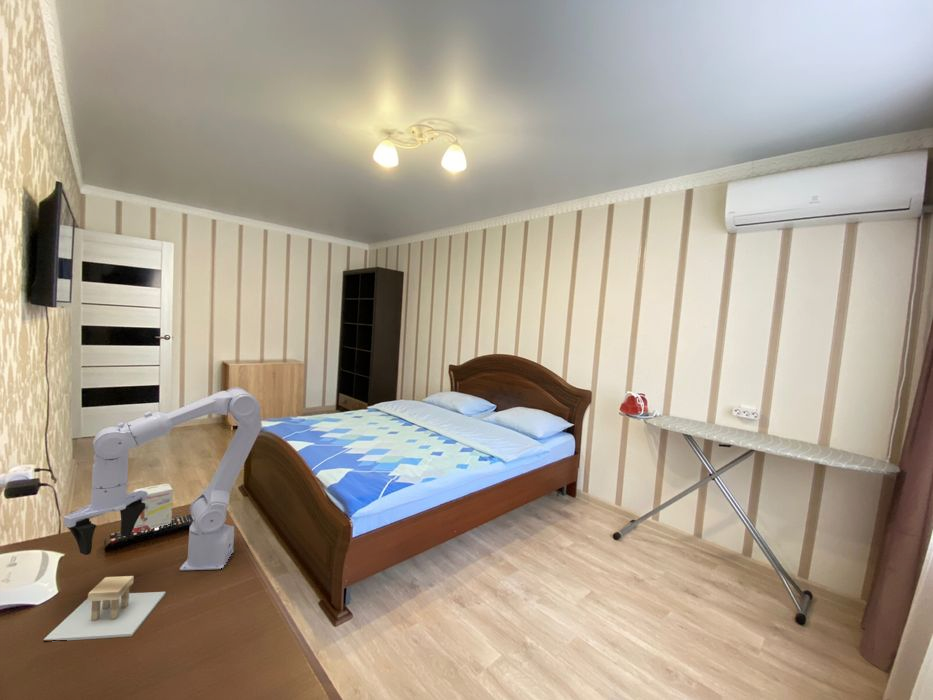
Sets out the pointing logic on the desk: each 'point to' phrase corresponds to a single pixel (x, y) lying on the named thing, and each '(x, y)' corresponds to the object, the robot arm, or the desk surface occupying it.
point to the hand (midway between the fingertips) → (106, 544)
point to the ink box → (155, 508)
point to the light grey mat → (107, 619)
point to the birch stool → (110, 595)
